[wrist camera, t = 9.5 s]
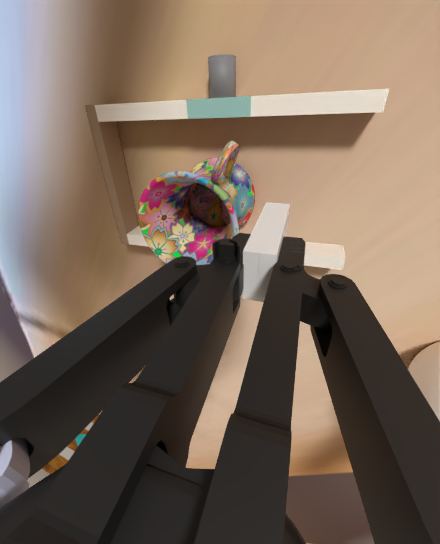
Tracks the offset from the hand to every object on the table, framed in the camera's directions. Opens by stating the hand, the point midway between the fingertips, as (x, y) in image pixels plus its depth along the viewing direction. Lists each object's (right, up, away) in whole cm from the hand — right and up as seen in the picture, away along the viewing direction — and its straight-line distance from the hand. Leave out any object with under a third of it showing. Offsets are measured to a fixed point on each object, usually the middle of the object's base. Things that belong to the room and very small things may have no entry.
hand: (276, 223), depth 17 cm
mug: (-3, +7, +13) cm, 15 cm away
